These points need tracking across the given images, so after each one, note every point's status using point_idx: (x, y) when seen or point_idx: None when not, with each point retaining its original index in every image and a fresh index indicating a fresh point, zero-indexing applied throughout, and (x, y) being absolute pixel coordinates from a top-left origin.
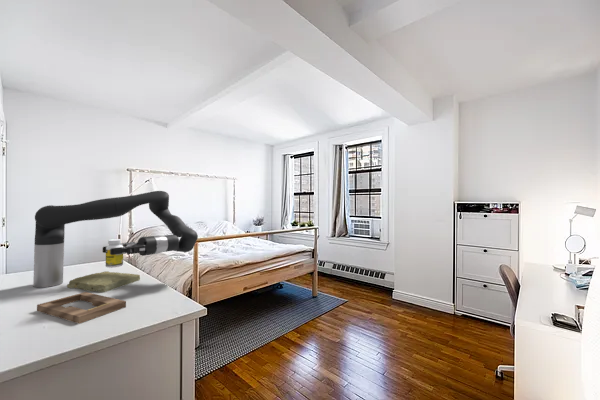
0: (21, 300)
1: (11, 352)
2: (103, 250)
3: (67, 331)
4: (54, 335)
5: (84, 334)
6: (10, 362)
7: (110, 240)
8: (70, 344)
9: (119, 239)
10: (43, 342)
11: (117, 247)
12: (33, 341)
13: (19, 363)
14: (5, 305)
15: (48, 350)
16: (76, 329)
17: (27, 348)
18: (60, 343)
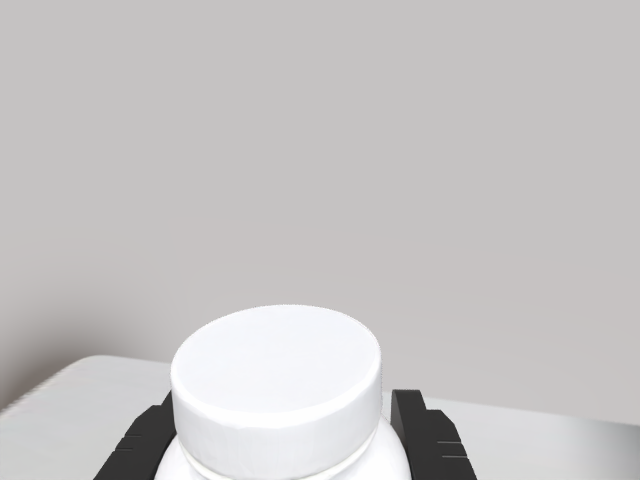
0: (593, 449)
1: (143, 365)
2: (391, 421)
3: (105, 442)
4: (122, 419)
5: (24, 459)
6: (104, 359)
7: (260, 307)
8: (24, 422)
9: (235, 392)
10: (115, 398)
11: (169, 445)
12: (146, 391)
13: (81, 363)
14: (540, 412)
15: (63, 394)
16: (85, 460)
17: (125, 379)
18: (61, 413)
